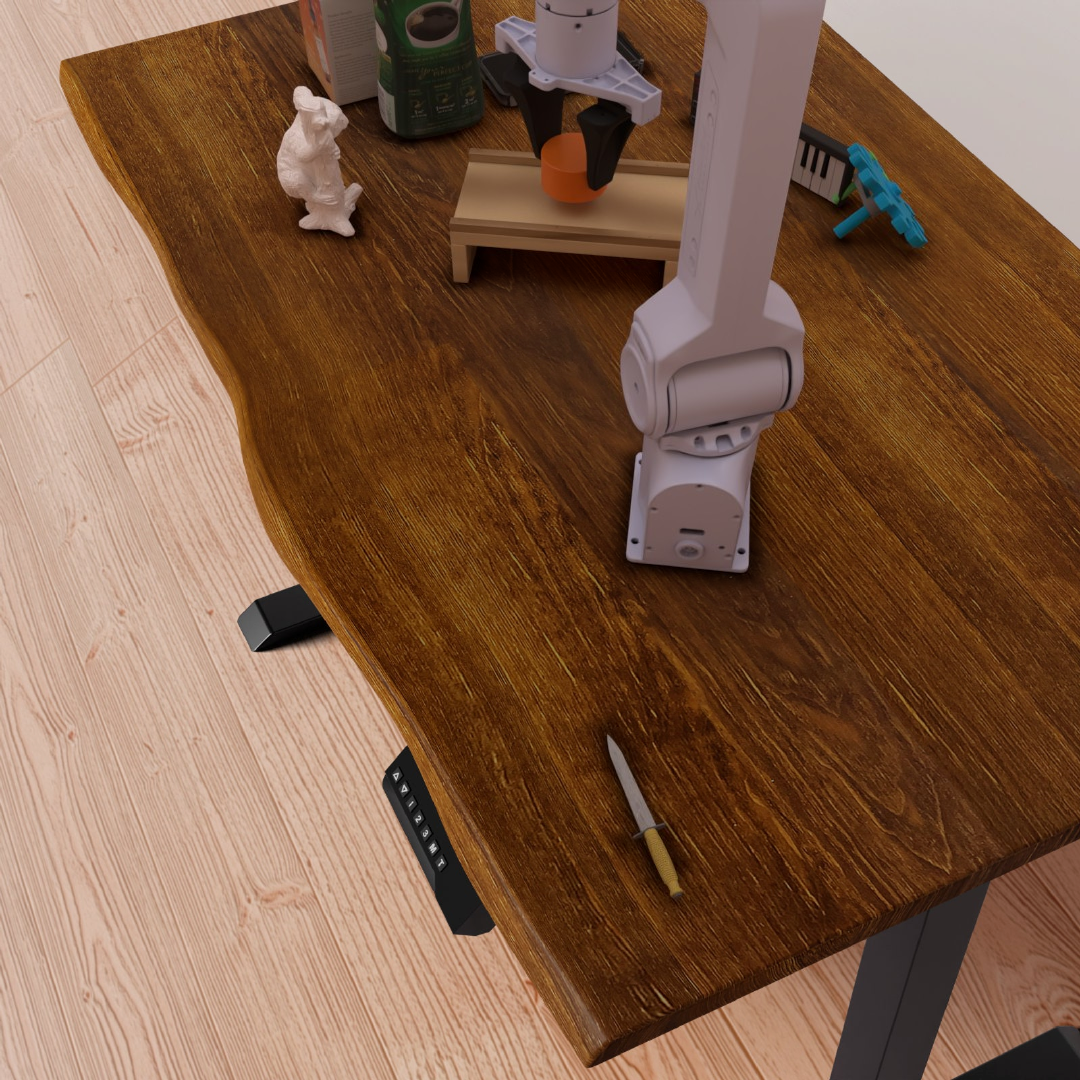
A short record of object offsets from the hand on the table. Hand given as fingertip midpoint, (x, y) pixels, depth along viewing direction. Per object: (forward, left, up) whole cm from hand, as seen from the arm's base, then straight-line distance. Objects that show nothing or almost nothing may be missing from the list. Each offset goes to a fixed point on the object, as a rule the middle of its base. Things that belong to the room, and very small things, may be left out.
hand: (573, 168), depth 90 cm
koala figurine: (+2, +21, -8) cm, 23 cm away
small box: (+23, +24, -8) cm, 34 cm away
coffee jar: (+18, +15, -8) cm, 25 cm away
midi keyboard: (+15, -16, -8) cm, 23 cm away
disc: (0, 0, -1) cm, 1 cm away
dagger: (-49, -9, -8) cm, 51 cm away
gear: (+6, -25, -8) cm, 27 cm away
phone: (+27, +4, -8) cm, 28 cm away
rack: (0, 0, -8) cm, 8 cm away
